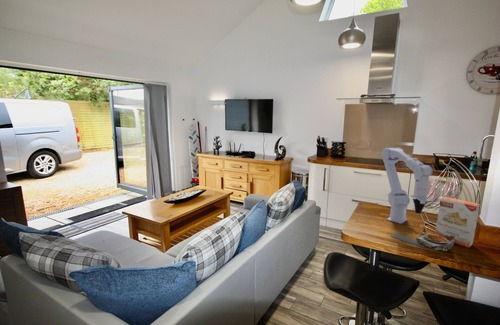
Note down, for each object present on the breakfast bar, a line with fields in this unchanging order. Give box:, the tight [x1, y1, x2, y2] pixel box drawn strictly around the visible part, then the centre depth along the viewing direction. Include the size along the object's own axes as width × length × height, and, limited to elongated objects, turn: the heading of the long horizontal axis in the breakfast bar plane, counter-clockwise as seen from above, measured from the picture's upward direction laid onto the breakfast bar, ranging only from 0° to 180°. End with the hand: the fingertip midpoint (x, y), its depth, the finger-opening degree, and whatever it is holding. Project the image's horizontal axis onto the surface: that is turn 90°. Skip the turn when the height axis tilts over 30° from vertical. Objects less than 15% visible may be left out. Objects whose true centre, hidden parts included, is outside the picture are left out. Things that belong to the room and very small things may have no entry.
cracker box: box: [434, 196, 481, 248], centre depth 123 cm, size 14×6×21 cm, turn 36°
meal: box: [415, 227, 455, 252], centre depth 121 cm, size 15×4×13 cm
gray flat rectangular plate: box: [390, 232, 426, 248], centre depth 125 cm, size 6×14×1 cm, turn 41°
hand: (418, 213), depth 133 cm, fingers closed
